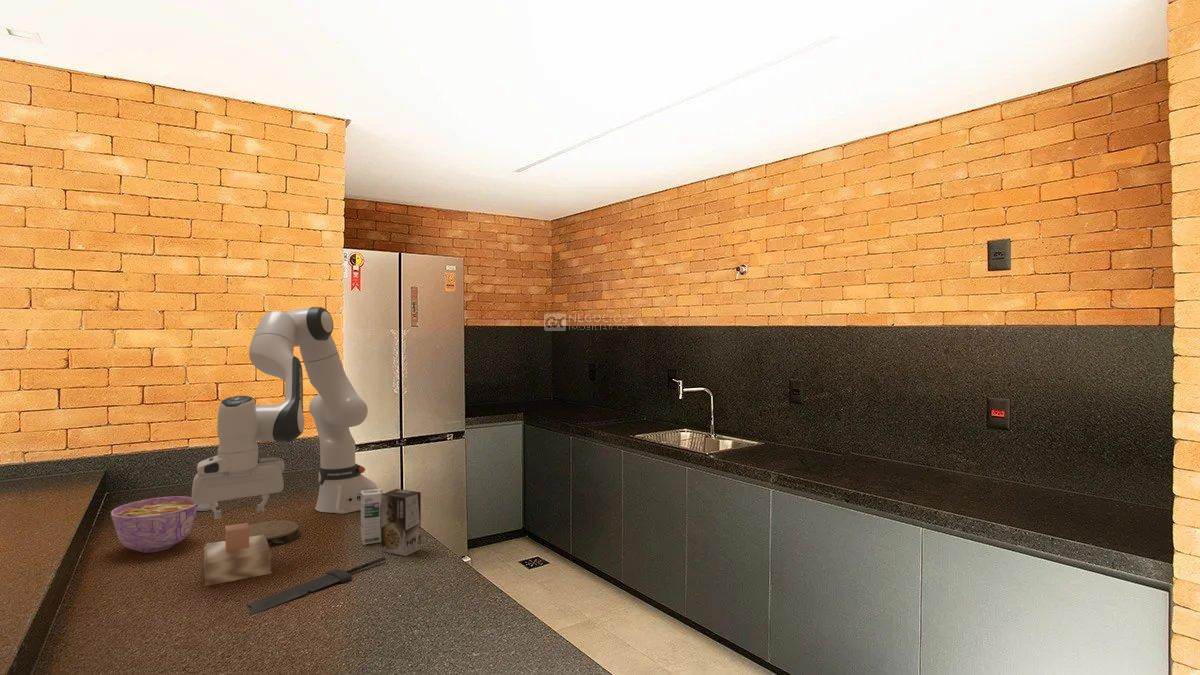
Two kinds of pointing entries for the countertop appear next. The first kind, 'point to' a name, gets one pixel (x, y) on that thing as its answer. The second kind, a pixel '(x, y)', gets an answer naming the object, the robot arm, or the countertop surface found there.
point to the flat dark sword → (306, 587)
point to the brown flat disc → (275, 531)
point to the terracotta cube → (237, 537)
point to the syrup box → (371, 516)
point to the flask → (205, 506)
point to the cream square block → (236, 561)
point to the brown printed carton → (401, 522)
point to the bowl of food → (154, 522)
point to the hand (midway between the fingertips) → (239, 514)
